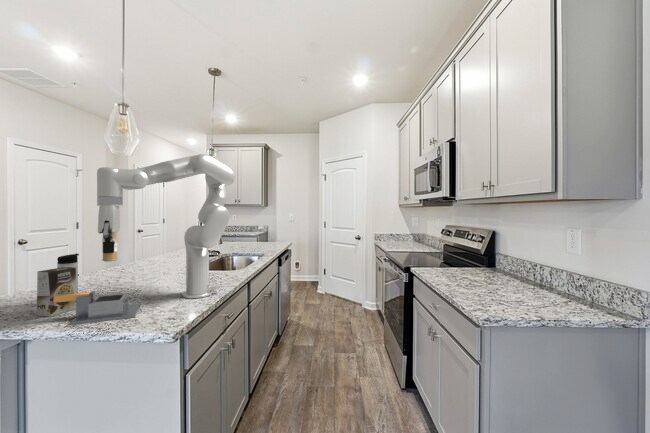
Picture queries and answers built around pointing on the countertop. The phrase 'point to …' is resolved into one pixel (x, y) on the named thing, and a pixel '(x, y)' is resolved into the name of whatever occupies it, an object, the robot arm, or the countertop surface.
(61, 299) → the lock bar
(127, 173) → the robot arm
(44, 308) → the coffee box
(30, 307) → the countertop surface
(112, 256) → the sprinkles bottle
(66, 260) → the travel mug
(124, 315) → the dock
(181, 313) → the countertop surface
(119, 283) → the countertop surface
